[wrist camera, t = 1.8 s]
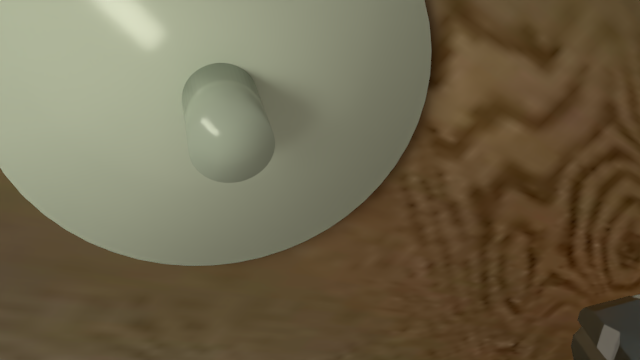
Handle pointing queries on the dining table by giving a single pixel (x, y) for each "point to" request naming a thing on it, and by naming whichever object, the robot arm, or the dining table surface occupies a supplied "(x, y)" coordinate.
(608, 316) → the robot arm
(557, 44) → the dining table surface
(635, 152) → the dining table surface
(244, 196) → the lid
